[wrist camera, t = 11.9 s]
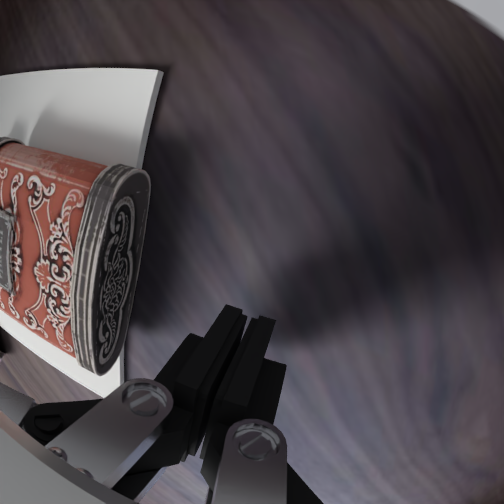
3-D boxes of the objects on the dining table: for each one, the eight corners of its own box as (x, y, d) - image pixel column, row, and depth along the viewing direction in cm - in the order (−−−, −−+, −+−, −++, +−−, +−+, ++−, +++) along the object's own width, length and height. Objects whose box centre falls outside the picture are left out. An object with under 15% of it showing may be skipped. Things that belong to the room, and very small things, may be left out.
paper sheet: (163, 72, 9) (158, 70, 9) (124, 402, 15) (121, 407, 14) (-3, 77, 11) (-8, 77, 10) (-5, 316, 16) (-8, 319, 16)
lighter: (89, 393, 10) (-48, 292, 10) (128, 349, 13) (-8, 273, 13) (110, 170, 7) (-47, 132, 8) (161, 168, 11) (2, 131, 11)
